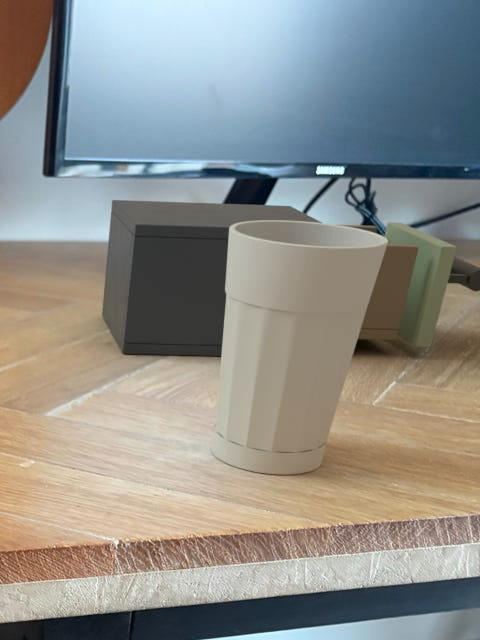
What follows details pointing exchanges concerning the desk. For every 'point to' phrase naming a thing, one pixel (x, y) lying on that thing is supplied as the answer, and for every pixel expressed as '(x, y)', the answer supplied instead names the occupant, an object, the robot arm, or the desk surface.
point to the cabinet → (173, 273)
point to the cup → (289, 338)
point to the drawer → (412, 285)
